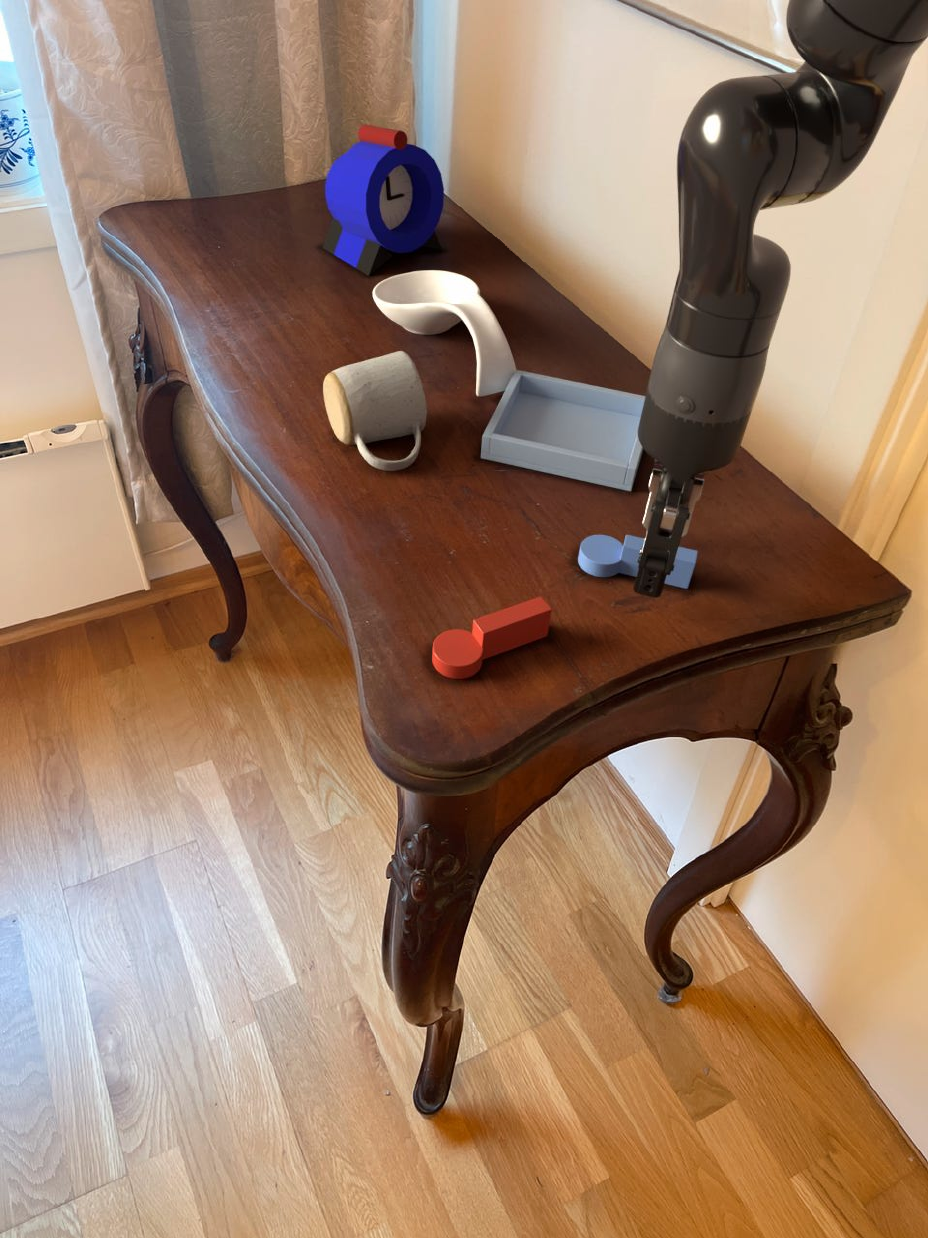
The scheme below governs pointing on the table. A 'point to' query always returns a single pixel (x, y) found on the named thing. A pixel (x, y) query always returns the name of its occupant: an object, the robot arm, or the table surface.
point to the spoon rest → (449, 318)
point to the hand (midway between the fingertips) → (654, 559)
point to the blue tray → (567, 430)
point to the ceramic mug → (376, 405)
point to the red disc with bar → (490, 638)
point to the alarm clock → (382, 199)
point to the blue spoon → (629, 559)
